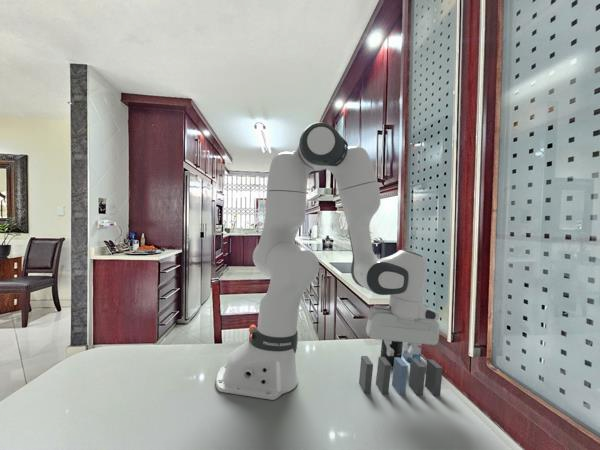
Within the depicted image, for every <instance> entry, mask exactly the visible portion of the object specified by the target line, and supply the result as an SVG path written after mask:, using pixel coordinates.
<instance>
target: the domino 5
mask: <svg viewBox="0 0 600 450" xmlns="http://www.w3.org/2000/svg"><path fill="white" fill-rule="evenodd" d="M425 367H426V368H425V378H424V387H425V388H426V389H427V390H428V391H429V393H431V395H433V397H441V391H442V378H443V366H441V365H440V364H438V362H437V361H436V360H434V359H428V358H427V360H426V366H425Z"/></svg>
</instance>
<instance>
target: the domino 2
mask: <svg viewBox="0 0 600 450" xmlns="http://www.w3.org/2000/svg"><path fill="white" fill-rule="evenodd" d="M377 361H378V362H377V363H378V364H377V371H376V380H375V385H376V387H377V386H378V387H377V388H378V390H379V392H380V391H381V392H380V393H381V394H382V395H389V390H390V383H391V381H390V379H391V373H392V372H391V371H392V367H391V364H390V363H389V362H388V360H387V359H386V358H385V357H380V356H378V360H377Z"/></svg>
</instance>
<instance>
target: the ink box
mask: <svg viewBox="0 0 600 450" xmlns="http://www.w3.org/2000/svg"><path fill="white" fill-rule="evenodd" d="M422 345H423V344H419V343H418V347H417V349H416V350H415V351H414V352H413V356H412V358H413V359H418V360H419V361H420V362H421V356H422V347H423V346H422ZM410 346H411V344H410V343H409V342H403V347H402V357H403V358H404V359H405V361H407V362H411V358H407V357H405V349H406V350H408V349H409V347H410Z"/></svg>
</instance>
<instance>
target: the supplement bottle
mask: <svg viewBox="0 0 600 450" xmlns="http://www.w3.org/2000/svg"><path fill="white" fill-rule="evenodd" d="M389 345H390V347H391V348H392V349H393V350H394V356H388V355H387V353H386V352H387V347H386V345H385V342H384V340H381V346H380V356H379V357H385V358H386V359H387V360H388V362H389V363H390V364H391V368H393V367H394V357H398V358H401V359H402V357H403V355H402V347H403V342H399V341H392V343H391V344H389Z"/></svg>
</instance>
